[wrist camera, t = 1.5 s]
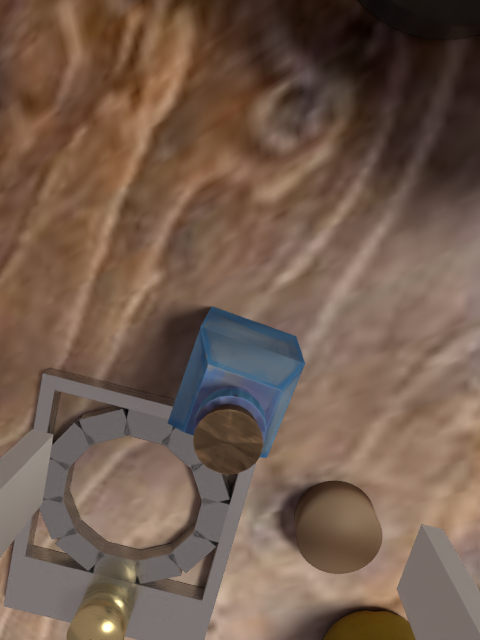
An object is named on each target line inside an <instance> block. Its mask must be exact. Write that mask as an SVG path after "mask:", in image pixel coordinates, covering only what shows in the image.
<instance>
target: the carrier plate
mask: <svg viewBox="0 0 480 640" xmlns="http://www.w3.org/2000/svg"><path fill="white" fill-rule="evenodd" d="M60 392H64V393H68V394H72V395H76V396H80V397H84V398H88V399H92V400H95V401H99V402H103V403H107V404H111V405H115V406H111V407H107V408H103V409H99V410H95V411H91V412H87V413H85V414H84V415H83V416H82V417H81V416H80V417H79V418H78V419H77V420H76V421H75V422H74V423H73V424H72V425H71V426H70V427H69V428H68V429H67V430H66V431H65V432H64V433H63V434H62V435H61V436H60V437H59V438H58V439H57V440H56V441H55V443H54V444H53V445H52V447H51V453H50V459H49V465H48V472H47V478H46V484H45V490H44V496H43V502H42V504H41V506H40V507H39V508H38V509H37V511H36V512H35V513H34V515H33V516H32V517H31V519H30V520H29V521H28V522H27V524H26V525H25V526H24V528H23V529H22V530H21V532H20V533H19V534H18V535H17V537H16V538H15V541H14V547H13V553H12V559H11V565H10V571H9V577H8V583H7V588H6V594H5V600H4V606H5V607H10V608H14V609H18V610H22V611H26V612H30V613H34V614H38V615H42V616H46V617H50V618H54V619H58V620H62V621H66V622H70V623H71V625H70V627H69V629H68V631H67V640H124V637H125V636H126V637H130V638H135V639H139V640H204V639H205V635H206V632H207V629H208V625H209V622H210V618H211V615H212V612H213V608H214V605H215V601H216V598H217V595H218V591H219V588H220V584H221V581H222V578H223V574H224V571H225V567H226V564H227V560H228V557H229V554H230V550H231V547H232V543H233V540H234V537H235V533H236V530H237V526H238V523H239V520H240V516H241V513H242V509H243V506H244V503H245V499H246V496H247V492H248V489H249V486H250V482H251V479H252V475H253V472H254V468H255V465H256V463H255V464H254V465H253V466H251V467H250V468H249V469H248V470H245V471H243V472H240V473H237V474H236V478H235V481H234V485H233V488H232V492H231V495H230V486H229V483H228V480H227V477H226V474H222V473H217V472H215V471H213V470H211V469H209V468H207V467H206V466H205V465H204V464H203V463H202V462H201V461H200V460H199V458H198V457H197V455H196V453H195V451H194V445H193V437H194V436H193V435H190V434H187V433H184V432H182V431H180V430H179V429H177V428H175V427H173V426H171V425H169V424H168V420H169V417H170V414H171V411H172V408H173V405H174V402H175V400H174V399H170V398H166V397H162V396H158V395H154V394H150V393H147V392H143V391H139V390H135V389H131V388H127V387H123V386H119V385H115V384H111V383H108V382H104V381H100V380H96V379H92V378H88V377H84V376H80V375H76V374H73V373H69V372H65V371H61V370H57V369H53V368H50V369H48V370H47V371H45V372H44V373H43V376H42V381H41V387H40V393H39V399H38V405H37V411H36V417H35V423H34V429H33V430H37V431H41V432H45V433H49V434H53V431H54V425H55V420H56V414H57V408H58V403H59V397H60ZM124 436H131V437H135V438H139V439H143V440H147V441H151V442H155V443H159V444H163V445H165V446H166V447H167V448H168V449H169V450H170V451H172V452H173V453H174V454H175V455H176V456H177V457H178V458H179V459H181V460H182V461H183V462H184V463H185V464H186V465H187V466H188V467H189V468H191V469H192V472H193V475H194V478H195V481H196V485H197V488H198V491H199V494H200V497H201V500H202V501H201V505H200V509H199V513H198V516H197V520H196V522H195V523H194V524H193V525H192V526H191V527H190V528H189V529H188V530H186V531H185V532H184V533H183V534H182V535H181V536H180V537H179V538H178V539H176V540H175V541H174V542H173V543H170V544H166V545H161V546H157V547H152V548H147V549H143V550H138V549H134V548H130V547H126V546H122V545H118V544H114V543H110V542H107V541H105V540H104V539H103V538H102V537H101V536H100V535H98V534H97V533H96V532H95V531H94V530H92V529H91V528H90V527H89V526H88V525H86V524H85V523H84V522H83V521H82V520H81V518H80V516H79V513H78V511H77V508H76V506H75V503H74V500H73V498H72V495H71V493H70V484H71V479H72V474H73V469H74V464H75V461H76V460H77V459H78V458H79V457H80V456H81V455H82V454H83V453H84V452H85V451H86V450H87V449H88V448H89V447H90V446H91V445H92V444H95V443H99V442H103V441H107V440H111V439H115V438H120V437H124ZM39 509H40V512H41V514H42V516H43V519H44V521H45V524H46V526H47V529H48V531H49V534H50V536H51V538H52V539H56V538H59V539H58V540H57V542H56V543H55V544H56V545H57V546H58V547H60V548H61V549H62V550H63V551H65V552H66V553H67V554H65V553H61V552H57V551H53V550H49V549H45V548H41V547H37V546H33V542H34V536H35V531H36V525H37V520H38V514H39ZM216 543H217V545H216ZM215 547H216V548H215ZM214 548H215V552H214V555H213V559H212V562H211V566H210V569H209V573H208V576H207V580H206V583H205V587H204V588H201V587H197V586H193V585H189V584H185V583H181V582H177V581H173V580H169V579H166V578H171V577H176V576H181V574H182V570H183V571H184V572H185V573H187V572H188V571H189V570H190V569H191V568H192V567H194V566H195V565H196V564H197V563H198V562H199V561H200V560H202V559H203V558H204V557H205V556H206V555H207V554H208V553H210V552H211V551H212V550H213V549H214Z"/></svg>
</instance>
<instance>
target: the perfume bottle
mask: <svg viewBox="0 0 480 640" xmlns="http://www.w3.org/2000/svg"><path fill="white" fill-rule="evenodd" d="M304 365H305V362H304V359H303V356H302V353H301V350H300V347H299V344H298V341H297V338H296V336H294V335H291V334H288V333H285V332H283V331H280V330H277V329H274V328H271V327H269V326H266V325H263V324H260V323H257V322H255V321H252V320H249V319H246V318H243V317H241V316H238V315H235V314H232V313H229V312H226V311H224V310H221V309H218V308H215V307H211V309H210V311H209V312H208V314H207V316H206V318H205V320H204V322H203V323H202V325H201V327H200V330H199V333H198V336H197V339H196V342H195V345H194V347H193V350H192V353H191V356H190V359H189V362H188V365H187V368H186V371H185V373H184V376H183V379H182V382H181V385H180V388H179V391H178V394H177V397H176V399H175V402H174V405H173V408H172V411H171V414H170V417H169V420H168V424H169V425H171V426H173V427H175V428H177V429H179V430H180V431H182V432H184V433H187V434H190V435H193V436H194V437H193V445H194V451H195V453H196V455H197V457H198V458H199V460H200V461H201V462H202V463H203V464H204V465H205V466H206V467H207V468H209V469H211V470H213V471H215V472H217V473H222V474H237V473H240V472H243V471H245V470H248V469H249V468H250V467H251V466H253V465H254V464H255V463H256V462H257V460H258V459H259V457H262V458H267V456H268V453H269V451H270V448H271V446H272V443H273V441H274V439H275V436H276V434H277V431H278V429H279V426H280V424H281V421H282V419H283V416H284V414H285V412H286V409H287V407H288V404H289V402H290V399H291V397H292V394H293V392H294V390H295V387H296V385H297V382H298V380H299V377H300V375H301V372H302V370H303V367H304Z"/></svg>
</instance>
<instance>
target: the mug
mask: <svg viewBox="0 0 480 640" xmlns="http://www.w3.org/2000/svg"><path fill="white" fill-rule="evenodd" d="M323 640H416V639H415V636H414V634H413V631H412V628H411V626H410V623H409V622H408V621H406V620H405V619H404V618H402V617H400V616H398V615H396V614H394V613H391V612H388V611H378V612H373V611H367V610H364V611H356V612H354V613H351V614H348V615H346V616H344V617H342V618H341V619H339V620H338V621H337V622H335V623H334V624H333V625H332V626H331V628H330V629H329V631H328V632H327V633H326V635H325V637H324V638H323Z"/></svg>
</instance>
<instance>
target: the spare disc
mask: <svg viewBox="0 0 480 640" xmlns="http://www.w3.org/2000/svg"><path fill="white" fill-rule="evenodd" d="M294 521H295V529H296V537H297V544H298V548H299V550H300V552H301V554H302V556H303V557H304V558H305V560H306V561H307V562H308V563H310V564H311V565H312V566H314V567H315V568H317V569H319V570H321V571H324V572H328V573H334V574H344V573H350V572H354V571H356V570H359V569H361V568H363V567H364V566H366V565H367V564H369V563H370V562H371V561H372V560H373V559H374V557H375V556H376V555H377V553H378V551H379V549H380V546H381V543H382V529H381V526H380V523H379V521H378V518H377V516H376V513H375V511H374V508H373V506H372V503H371V501H370V499H369V498H368V496H367V495H366V494H365V493H364V492H363V491H362V490H361V489H359V488H358V487H356V486H354V485H352V484H350V483H347V482H342V481H328V482H323V483H319V484H317V485H315V486H313V487H311V488H310V489H308V490H307V491H306V492H305V493H304V494H303V495H302V496H301V498H300V499H299V501H298V502H297V505H296V508H295V513H294Z"/></svg>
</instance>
